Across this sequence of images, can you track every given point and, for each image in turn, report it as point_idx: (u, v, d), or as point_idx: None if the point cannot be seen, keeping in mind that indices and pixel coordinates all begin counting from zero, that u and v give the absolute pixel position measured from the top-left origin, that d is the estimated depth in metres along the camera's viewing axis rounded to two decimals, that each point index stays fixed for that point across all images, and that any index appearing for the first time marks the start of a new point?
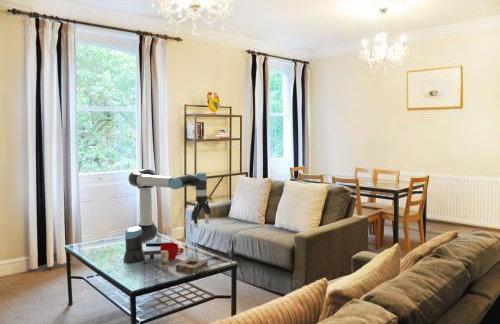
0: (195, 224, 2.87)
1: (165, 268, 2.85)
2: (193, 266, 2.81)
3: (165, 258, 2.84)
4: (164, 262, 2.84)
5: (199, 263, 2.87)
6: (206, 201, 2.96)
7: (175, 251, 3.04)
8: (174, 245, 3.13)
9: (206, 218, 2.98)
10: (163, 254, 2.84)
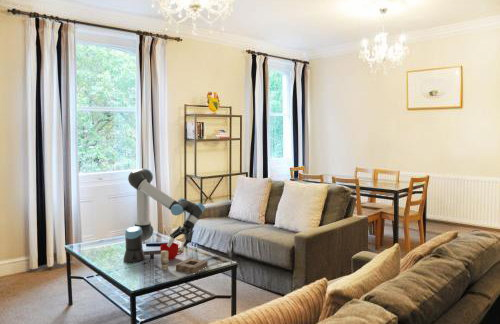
0: (182, 246, 2.87)
1: (165, 268, 2.85)
2: (193, 266, 2.81)
3: (165, 258, 2.84)
4: (164, 262, 2.84)
5: (199, 263, 2.87)
6: None
7: (175, 251, 3.04)
8: (174, 245, 3.13)
9: (171, 242, 2.96)
10: (163, 254, 2.84)
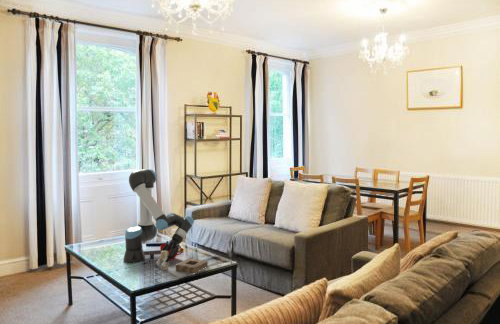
0: (164, 262, 2.83)
1: (165, 268, 2.85)
2: (193, 266, 2.81)
3: None
4: None
5: (199, 263, 2.87)
6: None
7: None
8: None
9: (160, 259, 2.87)
10: (163, 254, 2.84)
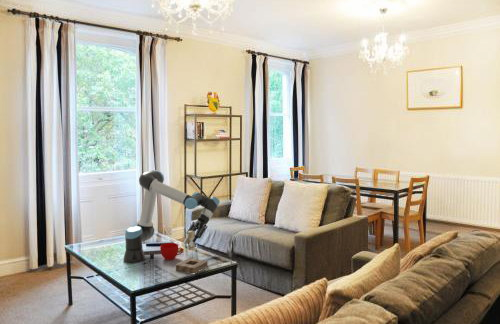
0: (191, 242, 2.82)
1: (192, 248, 2.85)
2: (193, 266, 2.81)
3: None
4: None
5: (199, 263, 2.87)
6: None
7: (175, 251, 3.04)
8: (174, 245, 3.13)
9: (187, 239, 2.87)
10: (190, 234, 2.83)
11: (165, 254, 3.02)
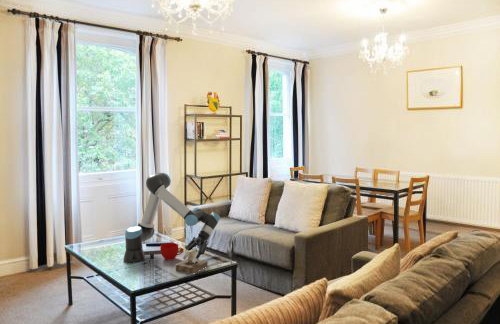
0: (195, 258, 2.82)
1: None
2: (193, 266, 2.81)
3: (192, 258, 2.85)
4: (191, 262, 2.85)
5: (199, 263, 2.87)
6: None
7: (175, 251, 3.04)
8: (174, 245, 3.13)
9: (186, 254, 2.90)
10: (190, 254, 2.85)
11: (165, 254, 3.02)
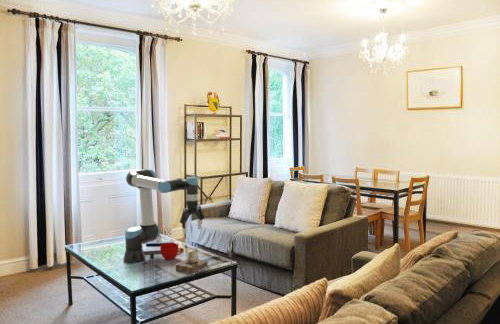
0: (183, 229, 2.81)
1: None
2: (193, 266, 2.81)
3: (192, 258, 2.85)
4: (191, 262, 2.85)
5: (199, 263, 2.87)
6: (198, 206, 2.89)
7: (175, 251, 3.04)
8: (174, 245, 3.13)
9: (199, 223, 2.91)
10: (191, 254, 2.85)
11: (165, 254, 3.02)
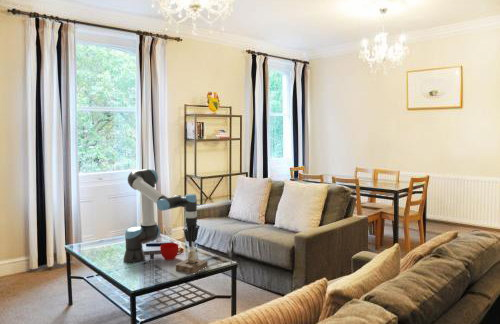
0: (190, 247, 2.87)
1: None
2: (193, 266, 2.81)
3: (192, 258, 2.85)
4: (191, 262, 2.85)
5: (199, 263, 2.87)
6: (197, 225, 2.89)
7: (175, 251, 3.04)
8: (174, 245, 3.13)
9: None
10: (191, 254, 2.85)
11: (165, 254, 3.02)
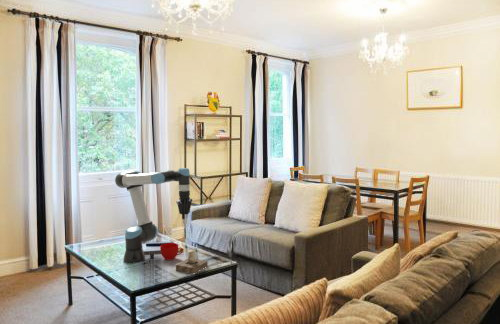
0: (183, 220, 2.97)
1: None
2: (193, 266, 2.81)
3: (192, 258, 2.85)
4: (191, 262, 2.85)
5: (199, 263, 2.87)
6: (190, 199, 2.99)
7: (175, 251, 3.04)
8: (174, 245, 3.13)
9: None
10: (191, 254, 2.85)
11: (165, 254, 3.02)
